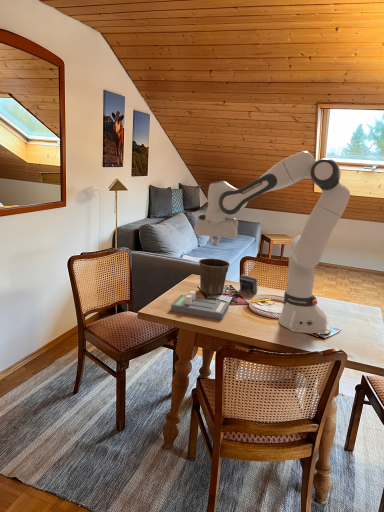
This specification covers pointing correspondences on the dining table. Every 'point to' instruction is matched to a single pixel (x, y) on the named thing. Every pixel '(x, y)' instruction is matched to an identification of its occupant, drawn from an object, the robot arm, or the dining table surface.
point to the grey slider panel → (201, 307)
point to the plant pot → (213, 275)
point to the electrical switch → (248, 284)
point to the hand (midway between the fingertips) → (214, 245)
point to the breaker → (188, 299)
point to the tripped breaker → (192, 294)
